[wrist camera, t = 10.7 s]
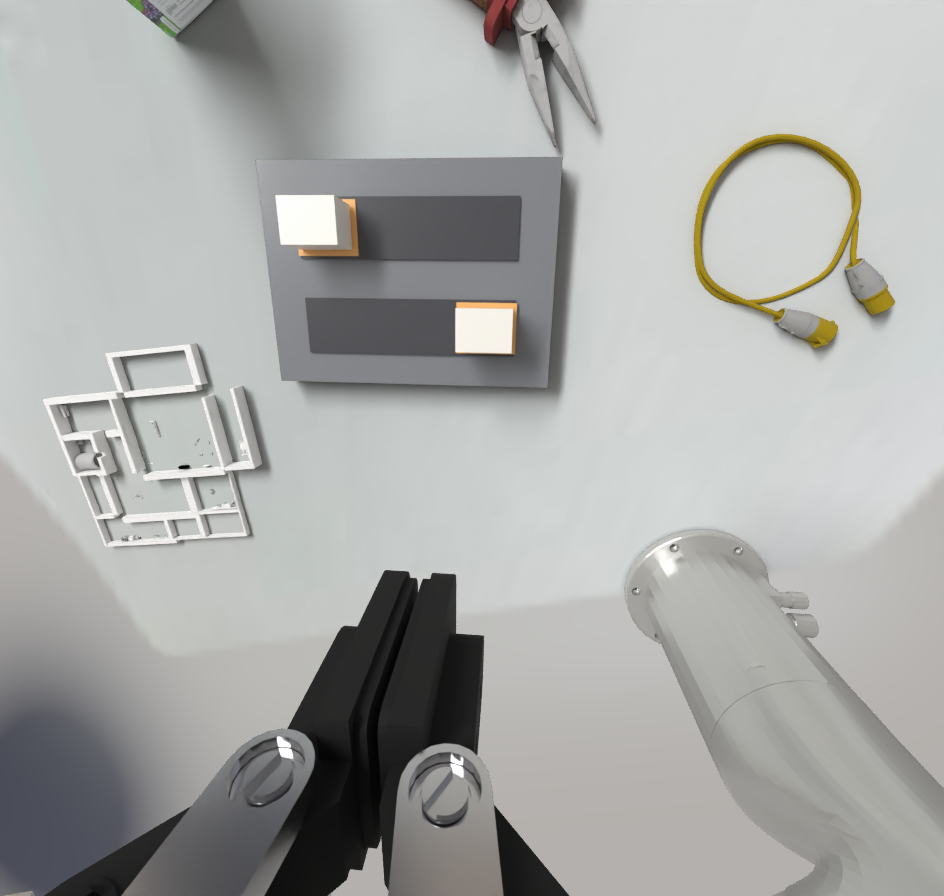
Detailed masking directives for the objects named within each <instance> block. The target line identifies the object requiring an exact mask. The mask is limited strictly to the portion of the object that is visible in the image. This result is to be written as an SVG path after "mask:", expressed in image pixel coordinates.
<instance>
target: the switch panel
mask: <svg viewBox="0 0 944 896" xmlns="http://www.w3.org/2000/svg"><path fill="white" fill-rule="evenodd" d="M562 160H563V157H508V158H409V159H310V160H255V161H256V169H257V178H258V186H259V194H260V203H261V211H262V220H263V228H264V236H265V245H266V253H267V262H268V270H269V279H270V287H271V295H272V304H273V312H274V321H275V329H276V337H277V346H278V354H279V363H280V371H281V379H282V381H315V382H351V383H388V384H424V385H460V386H497V387H533V388H547V387H548V372H549V357H550V342H551V327H552V311H553V296H554V281H555V266H556V251H557V236H558V221H559V206H560V191H561V176H562ZM275 195H335V196H336V197H338V198H339V199H341V200H343V201H344V202H346V203H347V204H349V206H350V221H351V237H352V250H300V249H296V248H292V247H288V246H284V245H281V243H280V234H279V225H278V216H277V207H276V197H275ZM455 308H499V309H513V327H512V352H511V353H469V352H455Z"/></svg>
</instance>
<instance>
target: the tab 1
mask: <svg viewBox="0 0 944 896" xmlns="http://www.w3.org/2000/svg"><path fill="white" fill-rule="evenodd" d="M275 197H276V207H277V216H278V225H279V234H280V243H281V245H284V246H288V247H292V248H296V249H300V250H352V237H351V221H350V206H349V204H347V203H346V202H344V201H343V200H341V199H339V198H338V197H336V196H335V195H275Z"/></svg>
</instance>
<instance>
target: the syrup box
mask: <svg viewBox="0 0 944 896" xmlns="http://www.w3.org/2000/svg"><path fill="white" fill-rule="evenodd" d="M127 1H128V2H129V3H130V4H131V5H133V6H134V7H135V8H136V9H138V10H139V11H140V12H141V13H142V14H144V15H145V16H146V17H147V18H148V19H150V20H151V21H152V22H153V23H155V24H156V25H157V26H158V27H160V28H161V29H162V30H163V31H164V32H166V33H167V34H168V35H169V36H170V37H175V36H176V35H177V34H178V33H179V32H181V31H182V30H183V29H184V28H185V27H186V26H187V25H188V24H189V23H190V22H191V21H192V20H193V19H195V18H196V17H197V16H198V15H199V14H200V13H201V12H202V11H203V10H204V9H205V8H206V7H207V6H208V5H209V4H210V3H211V2H212V1H213V0H127Z"/></svg>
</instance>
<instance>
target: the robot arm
mask: <svg viewBox="0 0 944 896" xmlns="http://www.w3.org/2000/svg"><path fill="white" fill-rule="evenodd" d="M625 600H626V604H627V607H628V610H629V612H630V615H631V617H632V620H633V621H634V622H635V624H636V625H637V627H638V628H639V629H640V630H641V631H642V632H643V633H644V634H645V635H646V636H648V637H649V638H651V639H652V640H654V641H656V642H658V643H660V644H662V647H663V648H664V651H665V653H666V656H667V658H668V660H669V662H670V664H671V667H672V669H673V671H674V673H675V676H676V678H677V680H678V682H679V685H680V687H681V689H682V691H683V694H684V696H685V698H686V700H687V702H688V705H689V707H690V709H691V711H692V714H693V716H694V718H695V720H696V723H697V725H698V727H699V729H700V732H701V734H702V736H703V738H704V741H705V743H706V745H707V747H708V749H709V752H710V754H711V756H712V759H713V761H714V762H715V764H716V767H717V769H718V771H719V773H720V775H721V778H722V780H723V782H724V784H725V786H726V788H727V790H728V791H729V793H730V794H731V796H732V797H733V799H734V800H735V802H736V803H737V805H738V806H739V807H740V808H741V809H742V810H743V812H744V813H745V814H746V815H747V816H748V817H749V818H750V819H751V820H752V821H753V822H754V823H755V824H756V825H757V826H758V827H760V828H761V829H762V830H763V831H764V832H766V833H767V834H768V835H770V836H771V837H772V838H774V839H775V840H777V841H778V842H779V843H781V844H782V845H784V846H785V847H787V848H788V849H790V850H792V851H793V852H795V853H796V854H798V855H800V856H801V857H803V858H805V859H807V860H808V861H810V862H811V863H813V864H815V867H814V870H813V871H812V872H811V873H810V874H809V875H808V876H806V877H805V878H803V879H801V880H799V881H797V882H796V883H794V884H792V885H790V886H788V887H787V888H786V889H785V890H784V891H781V892H779V893H777V894H775V895H773V896H944V788H943V787H942V786H941V785H940V784H939V783H938V782H937V781H936V780H935V779H934V778H933V777H932V776H931V775H930V773H929V772H928V771H927V770H926V769H925V768H924V767H923V766H922V765H921V764H920V763H919V762H918V761H917V760H916V759H915V758H914V757H913V756H912V754H911V753H910V752H909V751H908V750H907V749H906V748H905V747H904V746H903V745H902V744H901V743H900V742H899V741H898V740H897V739H896V737H895V736H894V735H893V734H892V733H891V732H890V731H889V730H888V729H887V727H885V725H884V724H883V723H882V722H881V721H880V720H879V718H878V717H877V716H876V715H875V714H874V713H873V712H872V711H871V710H870V709H869V707H868V706H867V705H866V704H865V703H864V702H863V701H862V700H861V699H860V698H859V697H858V696H857V694H856V693H855V692H854V691H853V690H852V689H851V688H850V687H849V686H848V685H847V683H846V682H845V681H844V680H843V679H842V678H841V677H840V675H839V674H838V673H837V672H836V671H835V670H834V669H833V668H832V667H831V665H830V664H829V663H828V662H827V661H826V660H825V658H824V657H823V656H822V655H821V654H820V653H819V652H818V651H817V650H816V648H815V647H814V646H813V645H812V644H811V643H810V642H809V641H808V639H807V638H806V637H811V638H814V637H816V636H817V634H818V624H817V621H816V620H815V618H814V617H813V616H812V615H809V614H793V613H787V614H784V612H783V611H782V610H781V609H780V607H788V608H792V609H807V608H808V606H809V600H808V597H807V596H806V594H804V593H799V592H785V593H784V592H778V590H776V589H774V588H773V587H772V586H771V585H770V584H769V579H768V573H767V571H766V569H765V566H764V564H763V562H762V561H761V560H760V558H759V557H758V556H757V554H756V553H755V552H754V551H753V550H752V549H751V548H750V547H749V546H748V545H746V544H745V543H743V542H742V541H740V540H739V539H737V538H735V537H733V536H731V535H728V534H726V533H722V532H718V531H714V530H699V529H698V530H689V531H683V532H679V533H675V534H672V535H669V536H667V537H665V538H663V539H661V540H658V541H657V542H655V543H654V544H653V545H651V546H650V547H648V548H647V549H646V550H645V551H644V552H643V553H642V554H641V555H640V556H639V557H638V558H637V559H636V561H635V562H634V564H633V565H632V567H631V569H630V571H629V573H628V576H627V579H626V584H625ZM483 655H484V636H480V635H466V634H456V575H455V574H440V573H432V575H431V579H423V580H422V583H421V586H420V589H419V592H418V582H417V579H416V578H410V574H409V572H407V571H391V570H385V571H384V573H383V575H382V577H381V579H380V581H379V583H378V585H377V587H376V589H375V591H374V593H373V596H372V598H371V600H370V602H369V604H368V606H367V608H366V610H365V612H364V614H363V616H362V619H361V621H360V623H359V625H358V627H354V626H344V627H342V628H341V629H340V631H339V632H338V634H337V636H336V638H335V640H334V642H333V644H332V645H331V647H330V649H329V651H328V653H327V655H326V657H325V659H324V660H323V662H322V664H321V666H320V668H319V670H318V672H317V674H316V676H315V678H314V680H313V681H312V683H311V685H310V687H309V689H308V691H307V693H306V695H305V696H304V699H303V700H302V702H301V704H300V706H299V708H298V710H297V712H296V713H295V715H294V717H293V719H292V721H291V723H290V725H289V727H288V729H278V730H273V731H268V732H265V733H263V734H261V735H258V736H256V737H254V738H252V739H251V740H249V741H248V742H247V743H245V744H244V745H242V746H241V747H240V748H239V749H238V750H237V751H236V752H235V753H234V754H233V755H232V756H231V757H230V758H229V759H228V760H227V761H226V763H225V764H224V765H223V767H222V768H221V769H220V770H219V772H218V773H217V774H216V776H215V777H214V778H213V780H212V781H211V782H210V783H209V784H208V786H207V787H206V788H205V790H204V791H203V792H202V794H201V795H200V796H199V797H198V799H197V800H196V801H195V802H194V804H193V805H192V806H191V807H189V808H187V809H186V810H184V811H182V812H181V813H179V814H178V815H176V816H174V817H172V818H170V819H169V820H167V821H166V822H164V823H162V824H160V825H159V826H157V827H155V828H154V829H152V830H150V831H149V832H147V833H145V834H144V835H142V836H140V837H138V838H137V839H135V840H134V841H132V842H130V843H128V844H127V845H125V846H123V847H122V848H120V849H118V850H117V851H115V852H113V853H112V854H110V855H108V856H106V857H105V858H103V859H101V860H100V861H98V862H96V863H95V864H93V865H91V866H90V867H88V868H86V869H85V870H83V871H81V872H80V873H78V874H76V875H74V876H73V877H71V878H69V879H68V880H66V881H65V882H63V883H62V884H60V885H59V886H57V887H56V888H55V889H53V890H52V891H51V892H49V893H47V894H46V895H45V896H331V892H333V891H334V890H335V889H336V888H337V887H339V886H340V885H341V884H342V883H343V882H344V881H346V880H347V877H348V873H349V870H350V869H355V870H362V869H363V865H364V861H365V858H366V854H367V850H368V848H377V847H378V845H379V842H380V839H381V837H382V853H383V867H384V881H385V885H386V887H387V889H388V891H389V892H388V896H569V895H568V894H567V892H566V891H565V890H564V889H563V888H562V886H561V885H560V884H559V883H558V882H557V880H556V879H555V878H554V877H553V876H552V874H551V873H550V872H549V871H548V869H547V868H546V867H545V866H544V865H543V863H542V862H541V861H540V860H539V859H538V857H537V856H536V855H535V854H534V853H533V851H532V850H531V849H530V848H529V846H528V845H527V844H526V843H525V842H524V840H523V839H522V838H521V837H520V836H519V835H518V833H517V832H516V831H515V830H514V828H513V827H512V826H511V825H510V823H509V822H508V821H507V820H506V819H505V817H504V816H503V815H502V814H501V813H500V812H499V810H498V809H497V808H496V807H495V806H494V801H493V792H492V784H491V780H490V776H489V772H488V770H487V768H486V766H485V765H484V763H483V762H482V760H481V758H479V757H478V756H477V751H478V739H479V726H480V712H481V699H482V681H483ZM5 896H35V895H34V893H33V891H29V892H23V893H18V894H12V895H5Z"/></svg>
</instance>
